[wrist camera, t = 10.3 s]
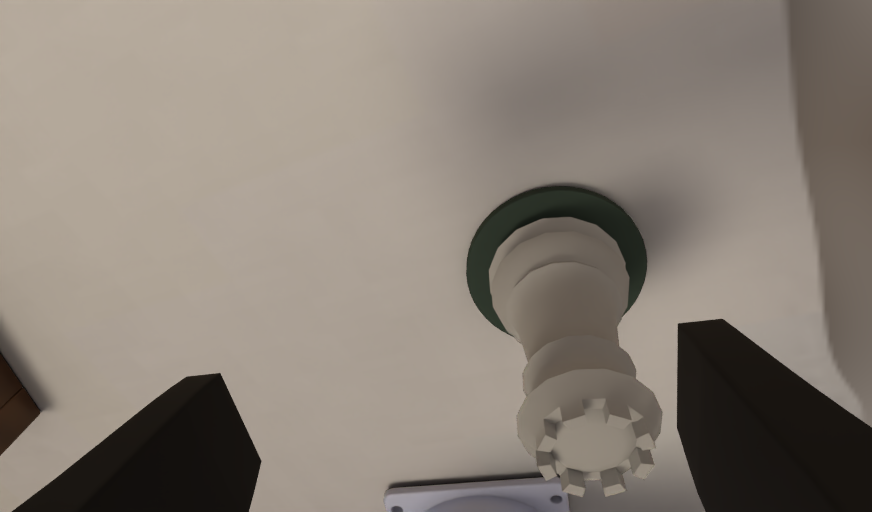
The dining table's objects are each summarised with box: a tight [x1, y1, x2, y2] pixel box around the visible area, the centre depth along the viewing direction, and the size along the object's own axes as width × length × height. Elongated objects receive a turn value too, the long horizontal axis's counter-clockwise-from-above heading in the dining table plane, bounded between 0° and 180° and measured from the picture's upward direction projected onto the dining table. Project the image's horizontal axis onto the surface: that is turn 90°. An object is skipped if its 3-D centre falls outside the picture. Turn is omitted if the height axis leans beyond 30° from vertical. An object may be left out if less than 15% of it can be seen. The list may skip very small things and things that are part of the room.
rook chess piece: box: [489, 217, 662, 497], centre depth 16 cm, size 4×4×8 cm
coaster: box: [466, 186, 647, 337], centre depth 19 cm, size 6×6×1 cm
